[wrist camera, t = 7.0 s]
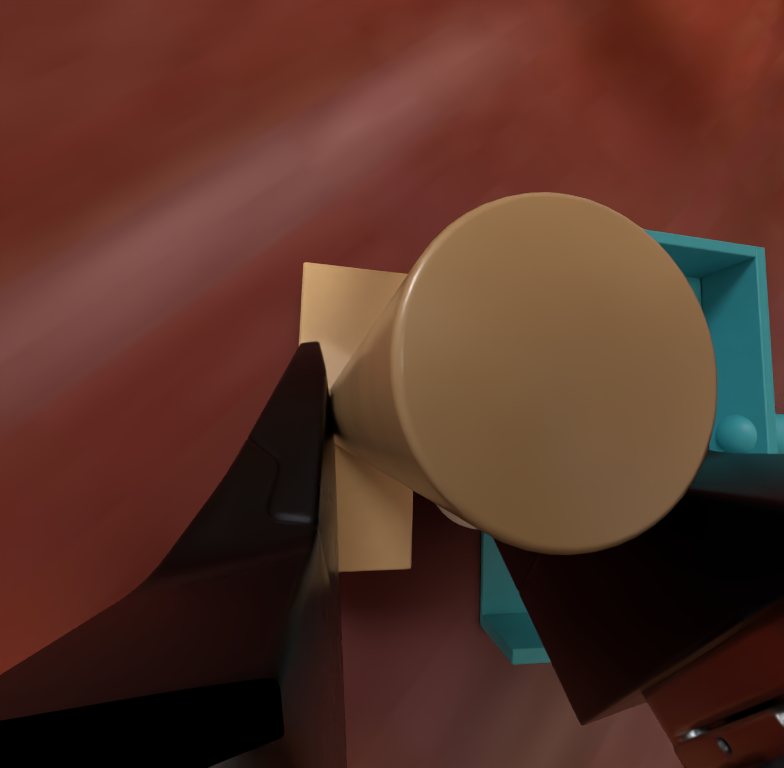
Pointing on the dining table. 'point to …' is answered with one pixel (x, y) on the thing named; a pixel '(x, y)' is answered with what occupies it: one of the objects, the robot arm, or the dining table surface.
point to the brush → (514, 382)
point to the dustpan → (733, 412)
